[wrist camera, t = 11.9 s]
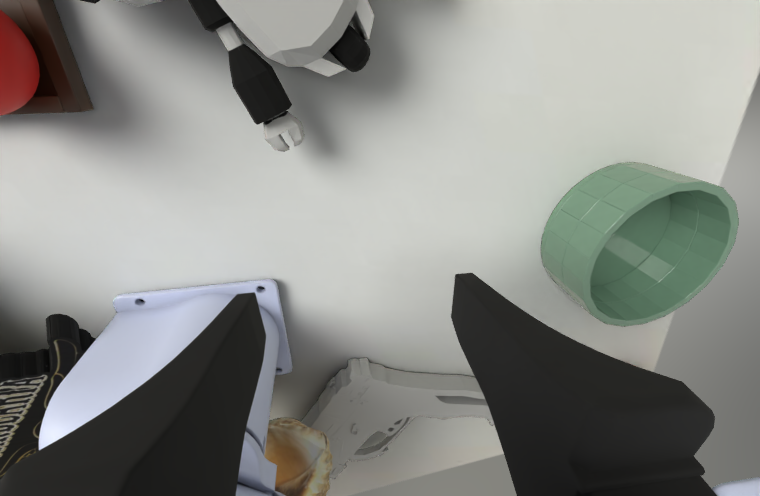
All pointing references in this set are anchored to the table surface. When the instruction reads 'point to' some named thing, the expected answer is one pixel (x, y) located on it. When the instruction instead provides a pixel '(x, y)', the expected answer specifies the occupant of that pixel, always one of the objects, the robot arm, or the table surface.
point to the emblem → (35, 386)
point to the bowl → (638, 241)
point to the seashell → (298, 458)
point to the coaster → (49, 59)
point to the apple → (16, 66)
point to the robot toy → (283, 48)
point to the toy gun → (386, 406)
